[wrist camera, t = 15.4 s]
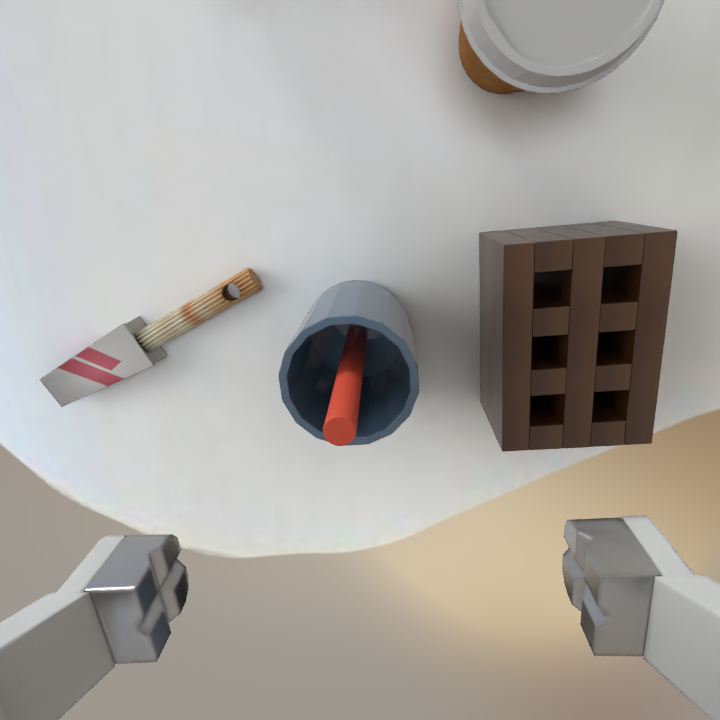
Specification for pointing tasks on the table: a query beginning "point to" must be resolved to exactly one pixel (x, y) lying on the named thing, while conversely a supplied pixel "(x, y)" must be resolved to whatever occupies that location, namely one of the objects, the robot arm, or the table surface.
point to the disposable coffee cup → (549, 41)
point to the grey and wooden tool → (139, 343)
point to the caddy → (573, 332)
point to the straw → (347, 390)
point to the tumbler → (381, 365)
